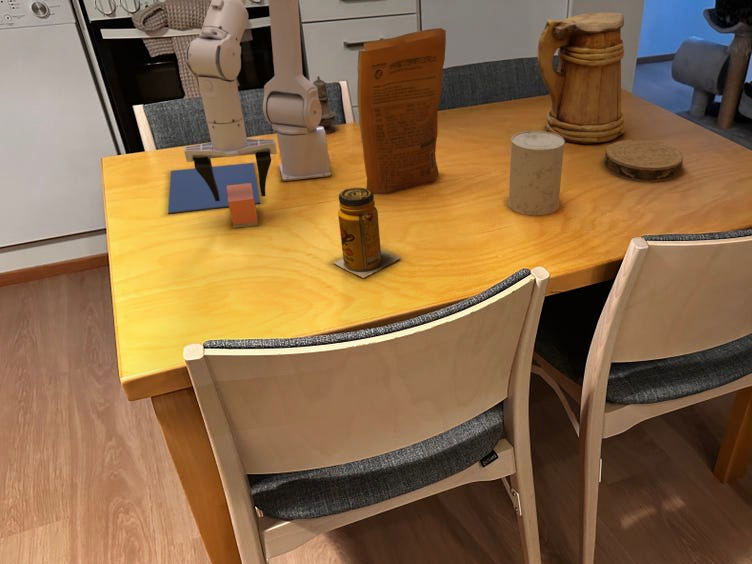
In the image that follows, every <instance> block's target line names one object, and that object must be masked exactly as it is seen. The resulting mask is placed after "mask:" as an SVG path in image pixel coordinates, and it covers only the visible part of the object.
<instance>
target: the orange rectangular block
mask: <svg viewBox="0 0 752 564" xmlns="http://www.w3.org/2000/svg"><path fill="white" fill-rule="evenodd" d="M227 196H228V204H229V207H228V209H229V213H230V218H231V222H232V223H231V224H232V227H233V229H240V228H247V227H254V226H255V227H256V226H259V220H258V214H257V208H256V204H255V201H254V196H253V191H252V185H251V183H247V184H238V185H228V186H227Z"/></svg>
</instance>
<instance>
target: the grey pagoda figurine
mask: <svg viewBox="0 0 752 564" xmlns="http://www.w3.org/2000/svg"><path fill="white" fill-rule="evenodd" d="M320 78H321V77H320V76H319V75H317V77H316V80H314V81H313V82H312V84H314V85H315V86H316V87H317V91H318V97H319V101H320V104H321V109H322V116H321V121H320V123H319V125H318V126H323V127H324V130H325V134H332V133H334V132H335V131H337V128H336V127H335V126H334V125H333V124H334V122H335V119H336V116H337V113H336V112H335V111H333V110H331V109H330V105H329V99H330V97H329V95H328V94H327V93H328V92H327V84H326V82H325V80H322V79H320Z"/></svg>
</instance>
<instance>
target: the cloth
mask: <svg viewBox="0 0 752 564" xmlns="http://www.w3.org/2000/svg"><path fill="white" fill-rule="evenodd" d="M212 169H213V174H214V178H215V182H216V185H217V188H218V192H219V198H220V201H215V198H214V196H213V193H212V192H211V190H210V188H209V186H208V185H207V183H206V182H205V180H204V179H203V178H202V176H201V175H200V174H199V173H198V172H197V170H196V169H195V168H187V169H185V168H183V169H176V170H170V179H169V180H170V181H169V196H168V207H167V208H168V210H167V213H168V215H171V214H172V215H173V214H181V213H189V212H198V211H199V212H200V211H207V210H216V209H226V208H229V204H228V196H227V186H228V185H238V184H247V183H251V185H252V191H253V196H254V201H255V205H260V204H261V200H260V193H259V188H258V183H257V177H256V171H255V165H254V163H253V162H249V163H246V162H245V163H236V164H226V165H216V166H212Z"/></svg>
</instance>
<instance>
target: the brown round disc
mask: <svg viewBox="0 0 752 564" xmlns="http://www.w3.org/2000/svg"><path fill="white" fill-rule="evenodd" d="M604 156H605V157H604V162H603V163H604V164H603V165H604V168H605V169H606V170H607V171H608V172H609V173H611V174H612V175H614V176H616V177H618V178H622V179H625V180H628V181H634V182H641V183H658V182H659V183H660V182H666V181H670V180H673V179H675V178H677V177H678V176H680V173H681V170H682V165H683V161H684V155H683V153H682V151H680V149H678V148H676V147H675V146H672V145H669V144H667V143H664V142H659V141H656V140H647V139H625V140H619V141H614V142H613V143H610V144H609V145H608V146H607V147H606V149H605V155H604Z"/></svg>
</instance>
